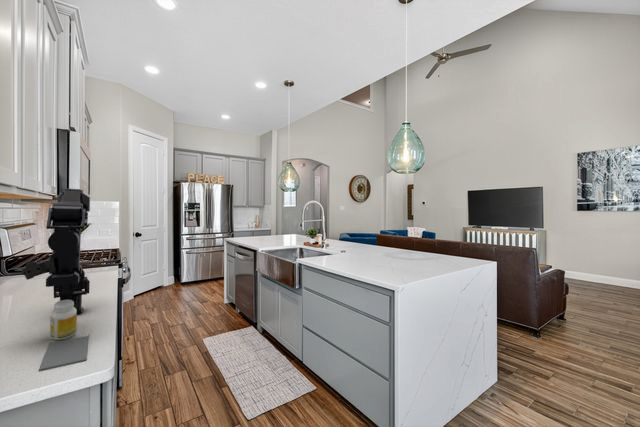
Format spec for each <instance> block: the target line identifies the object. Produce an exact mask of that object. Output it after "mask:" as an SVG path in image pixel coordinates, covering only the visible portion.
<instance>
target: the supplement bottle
mask: <svg viewBox="0 0 640 427" xmlns="http://www.w3.org/2000/svg"><path fill="white" fill-rule="evenodd" d="M77 315H78V314H77V310H76V308H75V307H74V302H73V301H72V300H61V301H60V300H58V301H56V302H55V303H54V304H53V310H52V311H51V312H50V315H49V318H50V319H49V323H50V324H49V326H50V327H49V334H50V338H51V339H52V340H54V341H55V340H56V341H61V340H67V339H70V338H71V337H73V336H74V335H75V334H76V333H77V322H78V321H77V319H78V318H77V317H78V316H77Z"/></svg>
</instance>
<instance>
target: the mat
mask: <svg viewBox="0 0 640 427" xmlns="http://www.w3.org/2000/svg"><path fill="white" fill-rule="evenodd" d="M89 337H90V336H89V335H84V336H78V337H73V338H67V339H62V340H56V341H51V342H48V345H47V347H46V350H45V352H44V355H43V357H42V360H41V363H40V366H39V367H38V372H43V371H46V370H47V371H48V370H51V369H55V368H59V367H60V368H61V367H65V366H68V365H74V364H78V363H83V362H87V360H88V359H87V358H88V357H87V356H88V348H89V339H90V338H89Z"/></svg>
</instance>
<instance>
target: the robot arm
mask: <svg viewBox="0 0 640 427" xmlns="http://www.w3.org/2000/svg"><path fill="white" fill-rule="evenodd" d="M90 207H91V197H89V196H88V195H87V194H85V193H84V190H83V189H79V188H63V190H62V193H60V194H59V195H57V202H54V203H53V204H52V207H49V208H48V213H47V214H48V215H47V220H46V226H45V227H46V230H54V231H53V233H52V234H51V235H49V237H48V238H47V245H48V247H49V248H50V249H51V251H52V253H51V255H49V258H47V259H45V260H40V261H38V262H37V261H36V260H34V261H31V262H27V263H26V265H25V266H24V267H22V268H21V271H22V275H23V276H24V277H25V279H26V280H31V279H34V278H36V277H37V276H41V275H44V274H46V273H48V274H49V275H48V276H47V277H46V279H45V287H46V288H47V287H48V288H50V287H53V299H57V298H59V301H61V300H72V301H73V302H74V307H75V308H76V310H77V315H81V314H83V311H84V307H83V306H82V305H83V304H82V302H83V300H82V298H83V296H86V295H87V294H90V280H89V278H88V276H86V275H85V274H86V272H85V270H84V269H83V267H82V266H81V265H80V263H81V242H82V241H81V238H82V229H83V230H84V229H85V227H88V222H89V221H88V220H89V212H90V211H91V210H90V209H91V208H90Z"/></svg>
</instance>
